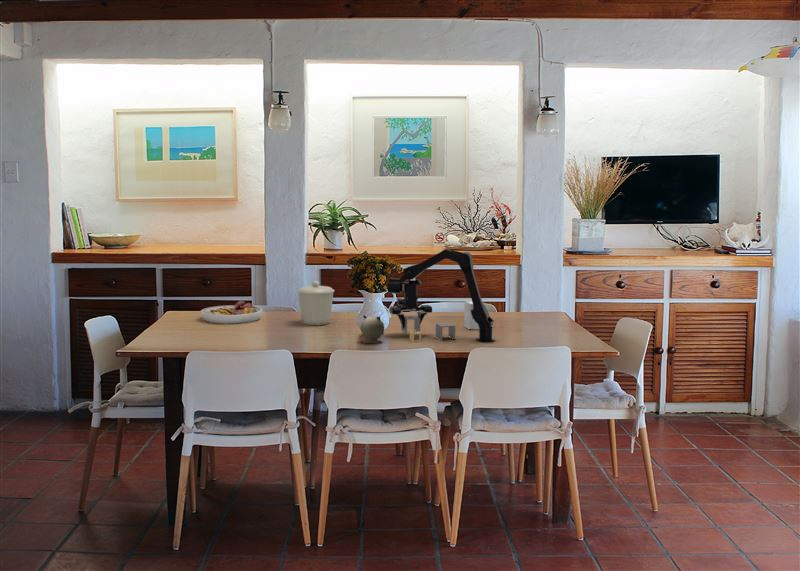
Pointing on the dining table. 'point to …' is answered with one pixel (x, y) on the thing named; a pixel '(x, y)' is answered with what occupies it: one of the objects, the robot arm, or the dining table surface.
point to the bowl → (232, 313)
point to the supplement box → (469, 316)
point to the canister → (315, 304)
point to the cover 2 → (450, 332)
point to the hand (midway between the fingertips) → (410, 328)
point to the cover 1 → (416, 323)
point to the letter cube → (415, 336)
